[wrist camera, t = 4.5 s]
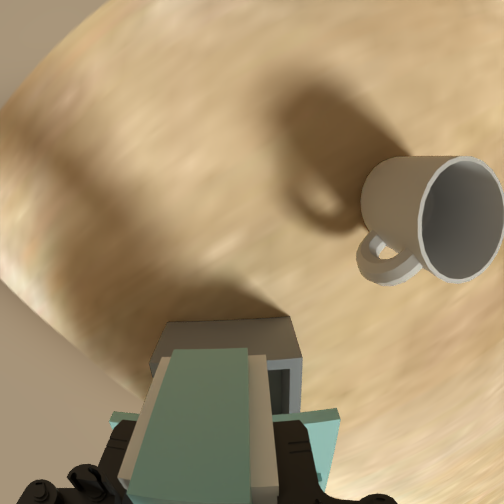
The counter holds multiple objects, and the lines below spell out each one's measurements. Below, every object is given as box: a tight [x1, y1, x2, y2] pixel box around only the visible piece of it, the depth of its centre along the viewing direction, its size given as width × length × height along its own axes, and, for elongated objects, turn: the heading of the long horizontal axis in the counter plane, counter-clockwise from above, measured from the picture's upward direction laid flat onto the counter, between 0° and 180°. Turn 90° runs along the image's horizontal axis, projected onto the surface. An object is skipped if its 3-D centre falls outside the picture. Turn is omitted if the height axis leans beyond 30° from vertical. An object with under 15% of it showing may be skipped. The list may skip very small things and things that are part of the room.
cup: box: [356, 156, 504, 286], centre depth 19 cm, size 7×10×9 cm
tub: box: [149, 316, 302, 415], centre depth 24 cm, size 14×10×6 cm
